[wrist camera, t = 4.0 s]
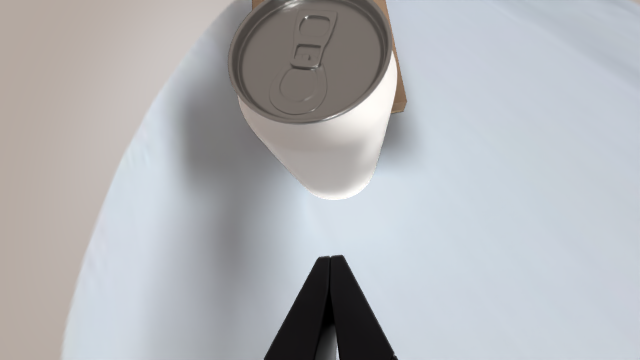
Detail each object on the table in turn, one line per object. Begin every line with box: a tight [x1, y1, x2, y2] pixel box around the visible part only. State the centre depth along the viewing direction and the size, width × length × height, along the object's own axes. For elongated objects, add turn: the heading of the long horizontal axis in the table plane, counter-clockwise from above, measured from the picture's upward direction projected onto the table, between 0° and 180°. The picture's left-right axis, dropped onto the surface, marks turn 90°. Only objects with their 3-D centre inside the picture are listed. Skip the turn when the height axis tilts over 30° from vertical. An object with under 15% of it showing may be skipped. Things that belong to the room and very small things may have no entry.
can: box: [228, 0, 397, 200], centre depth 14 cm, size 6×6×12 cm
